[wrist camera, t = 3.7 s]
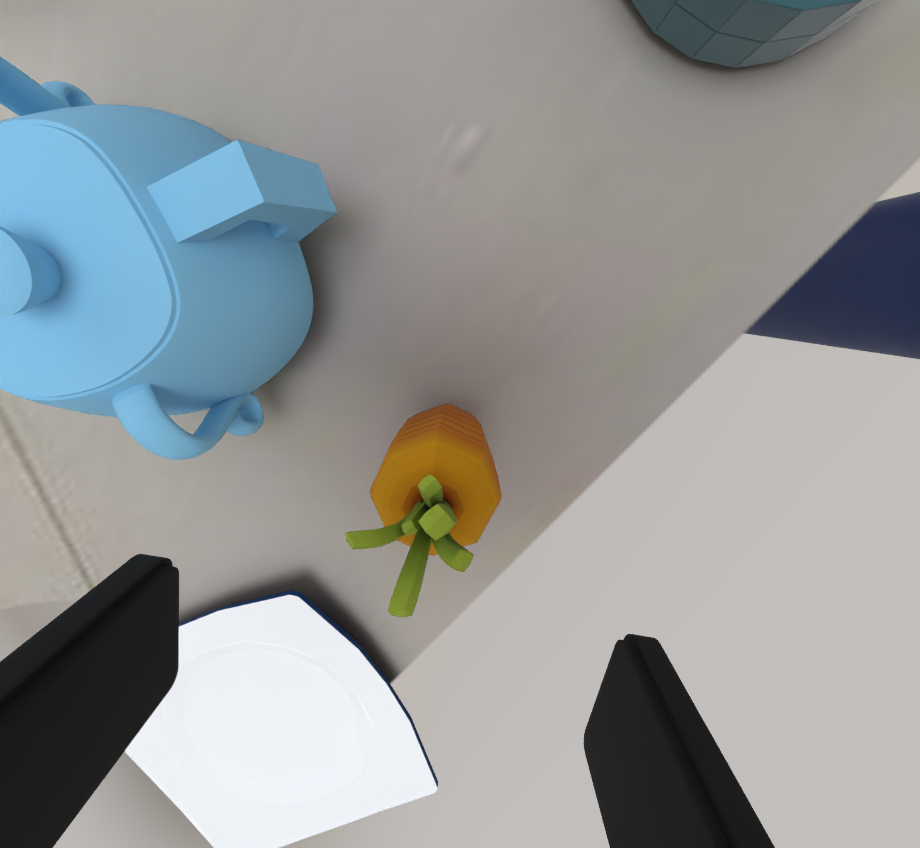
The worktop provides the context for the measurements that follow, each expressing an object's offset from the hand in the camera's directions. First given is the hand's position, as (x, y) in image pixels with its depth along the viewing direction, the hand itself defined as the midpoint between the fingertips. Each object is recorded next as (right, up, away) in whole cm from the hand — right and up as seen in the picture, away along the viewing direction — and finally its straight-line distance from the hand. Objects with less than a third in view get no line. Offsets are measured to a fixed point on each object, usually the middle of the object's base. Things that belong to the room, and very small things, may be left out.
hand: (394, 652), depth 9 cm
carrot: (+1, +5, +17) cm, 18 cm away
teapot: (-13, +13, +15) cm, 24 cm away
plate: (-13, -17, +24) cm, 32 cm away
